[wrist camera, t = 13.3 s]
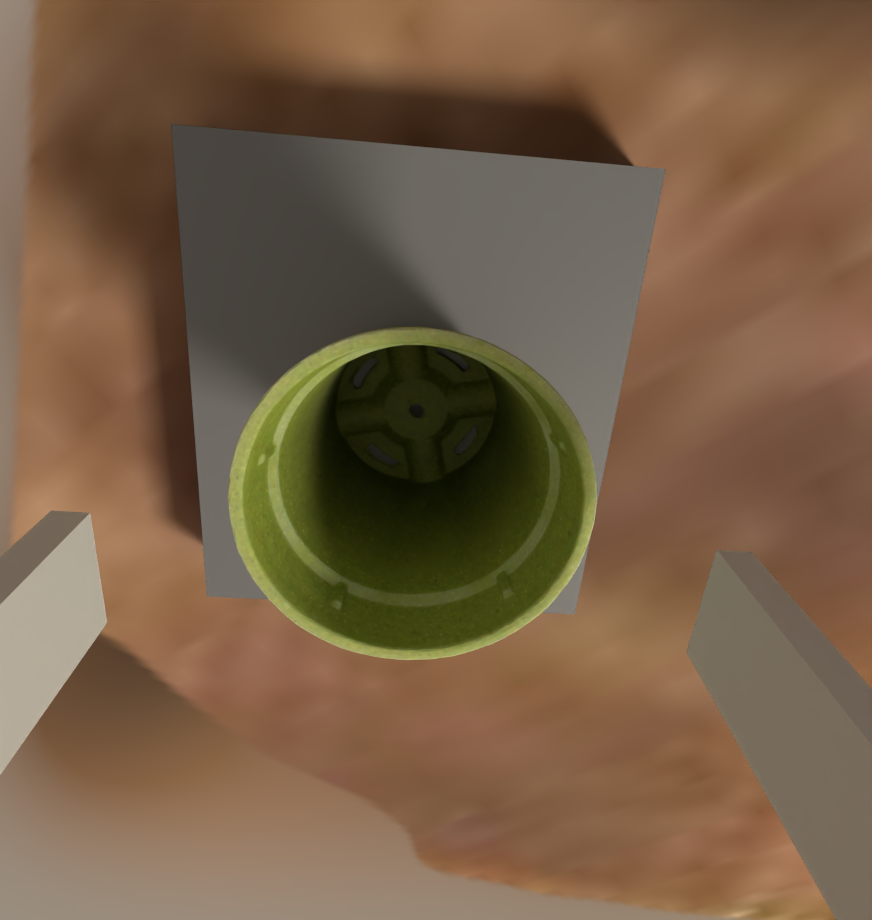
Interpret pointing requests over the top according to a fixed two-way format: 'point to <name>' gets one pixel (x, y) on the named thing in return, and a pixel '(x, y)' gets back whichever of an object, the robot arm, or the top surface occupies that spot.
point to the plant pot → (412, 494)
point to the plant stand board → (396, 278)
